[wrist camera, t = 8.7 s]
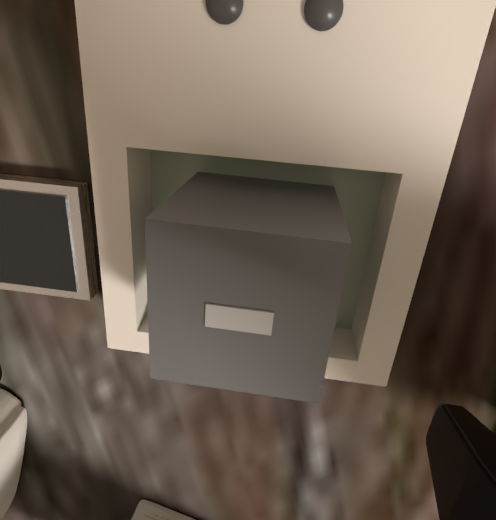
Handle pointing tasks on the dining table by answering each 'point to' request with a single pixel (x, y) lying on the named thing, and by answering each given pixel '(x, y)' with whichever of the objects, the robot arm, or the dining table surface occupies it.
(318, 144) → the white grey flat device
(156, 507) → the supplement box
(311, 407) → the dining table surface
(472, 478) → the robot arm
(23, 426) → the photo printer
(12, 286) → the phone slab
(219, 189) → the block
